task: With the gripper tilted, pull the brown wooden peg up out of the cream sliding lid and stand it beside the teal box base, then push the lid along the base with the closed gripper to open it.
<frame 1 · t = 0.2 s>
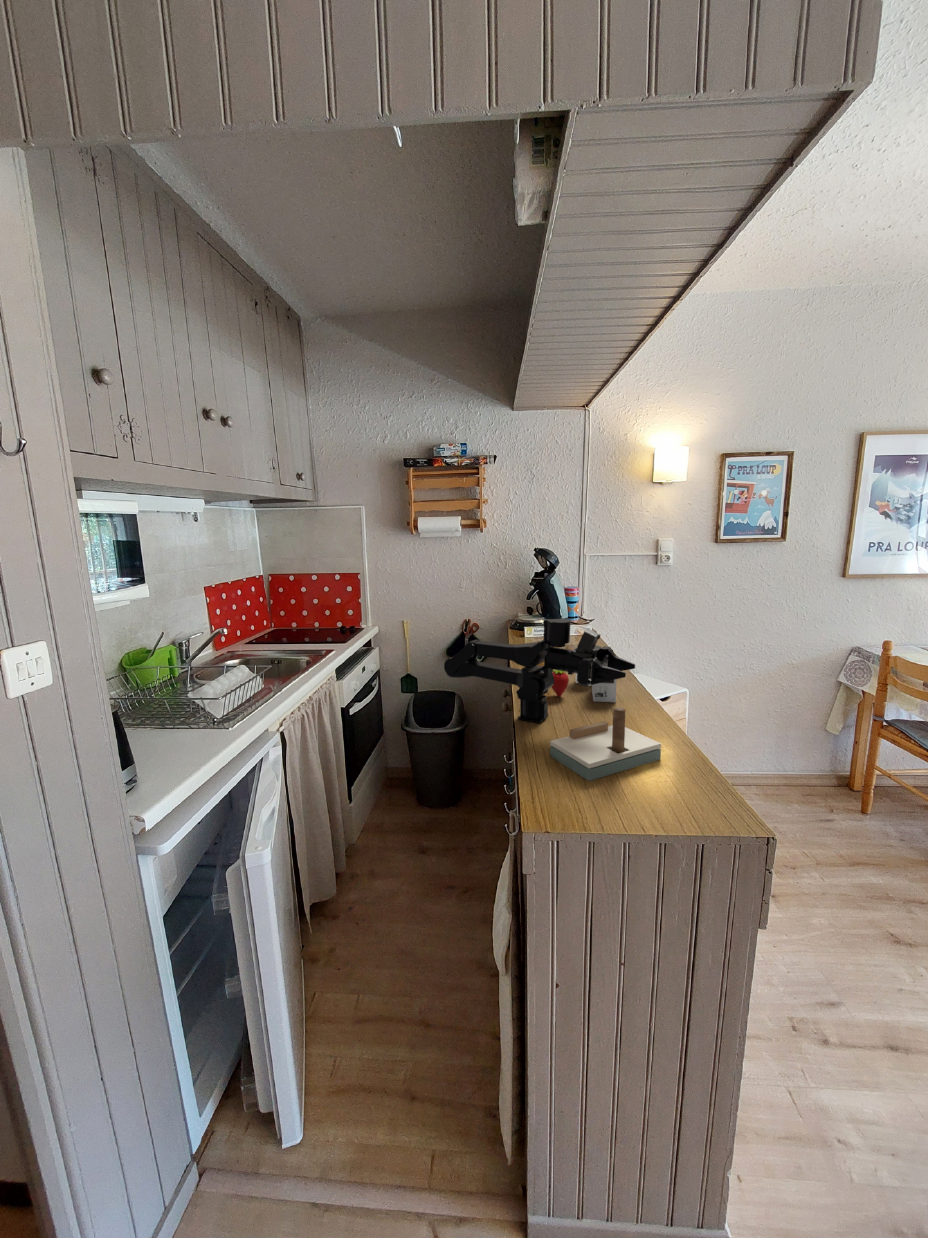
hand: (630, 670, 119), 17 cm above the table, tool horizontal, fingers open, 9 cm apart
light bulb box: (603, 697, 152), on the table
jar: (589, 683, 166), on the table
brown wooden peg: (617, 765, 107), resting in teal box base
lid: (605, 740, 110), point 4 cm above the table, slide at 0.0 cm
teal box base: (604, 757, 111), on the table
strawberry: (558, 697, 152), on the table
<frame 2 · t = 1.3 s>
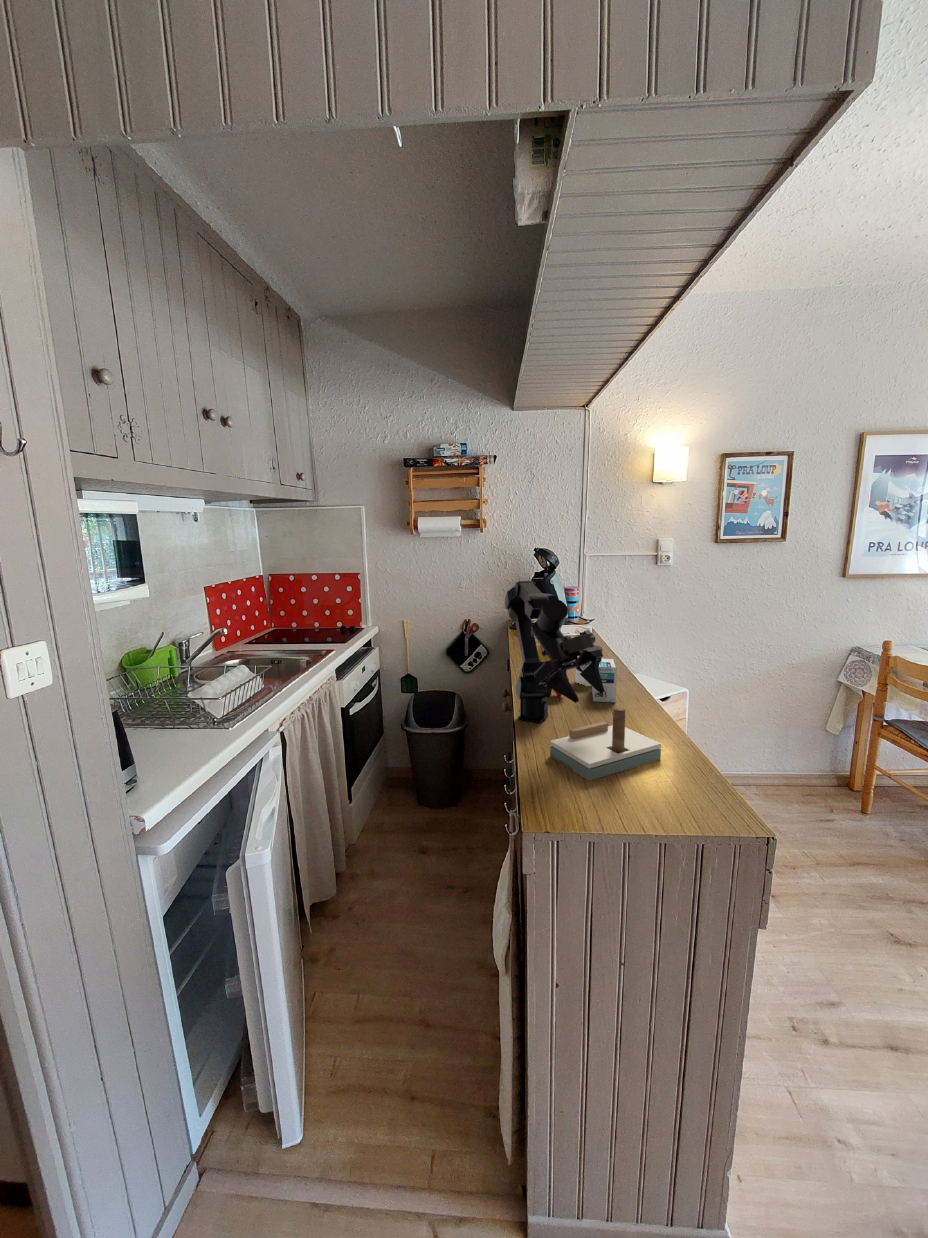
hand: (590, 697, 111), 13 cm above the table, tool tilted 45°, fingers open, 9 cm apart
nothing on the table moved.
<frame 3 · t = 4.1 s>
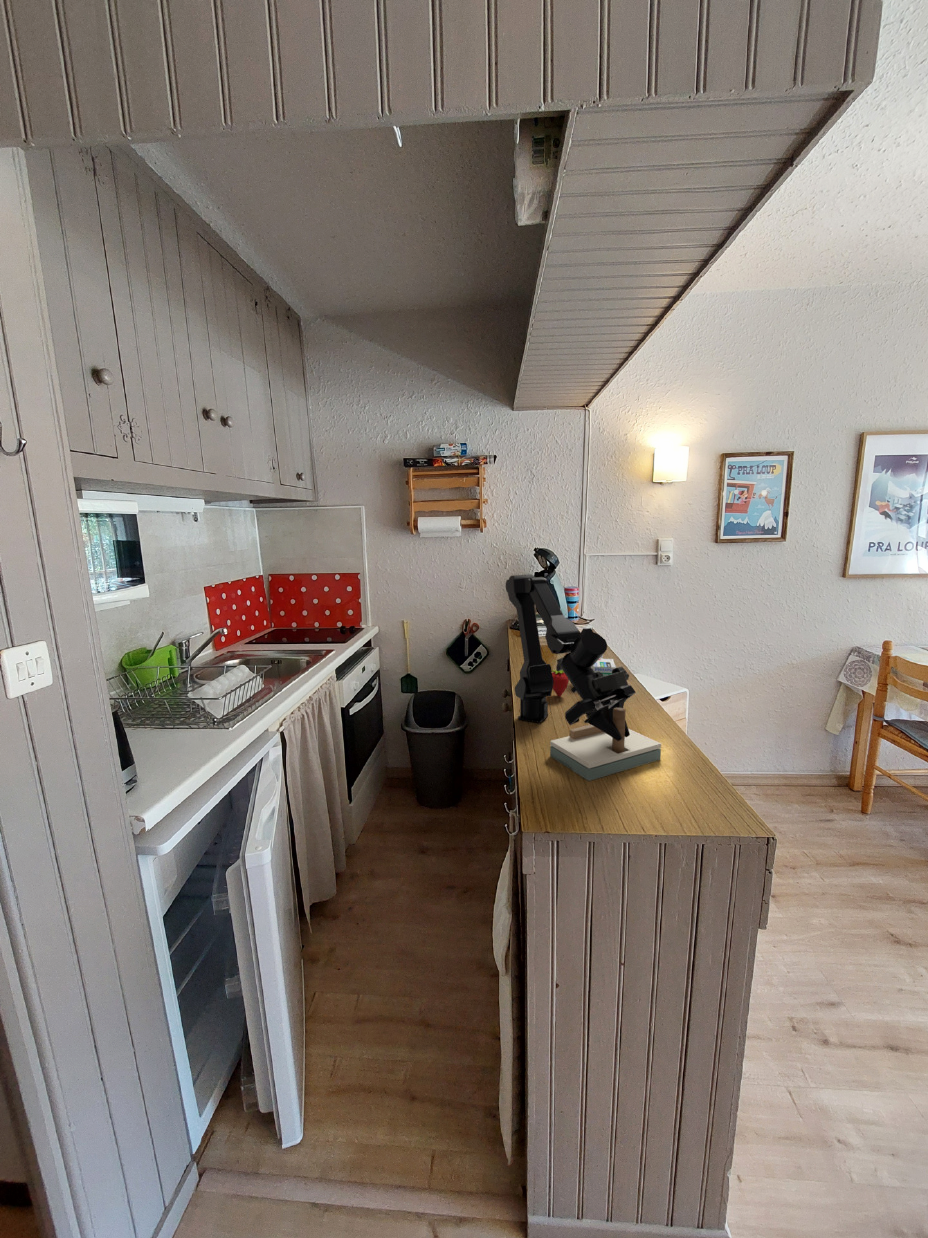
hand: (624, 738, 105), 7 cm above the table, tool tilted 45°, fingers closed on brown wooden peg, 2 cm apart
brown wooden peg: (617, 765, 107), resting in teal box base, touching gripper
everything else where it was.
when the fingers open (8 cm above the table, at t = 8.2 s): brown wooden peg drops 1 cm, on the table.
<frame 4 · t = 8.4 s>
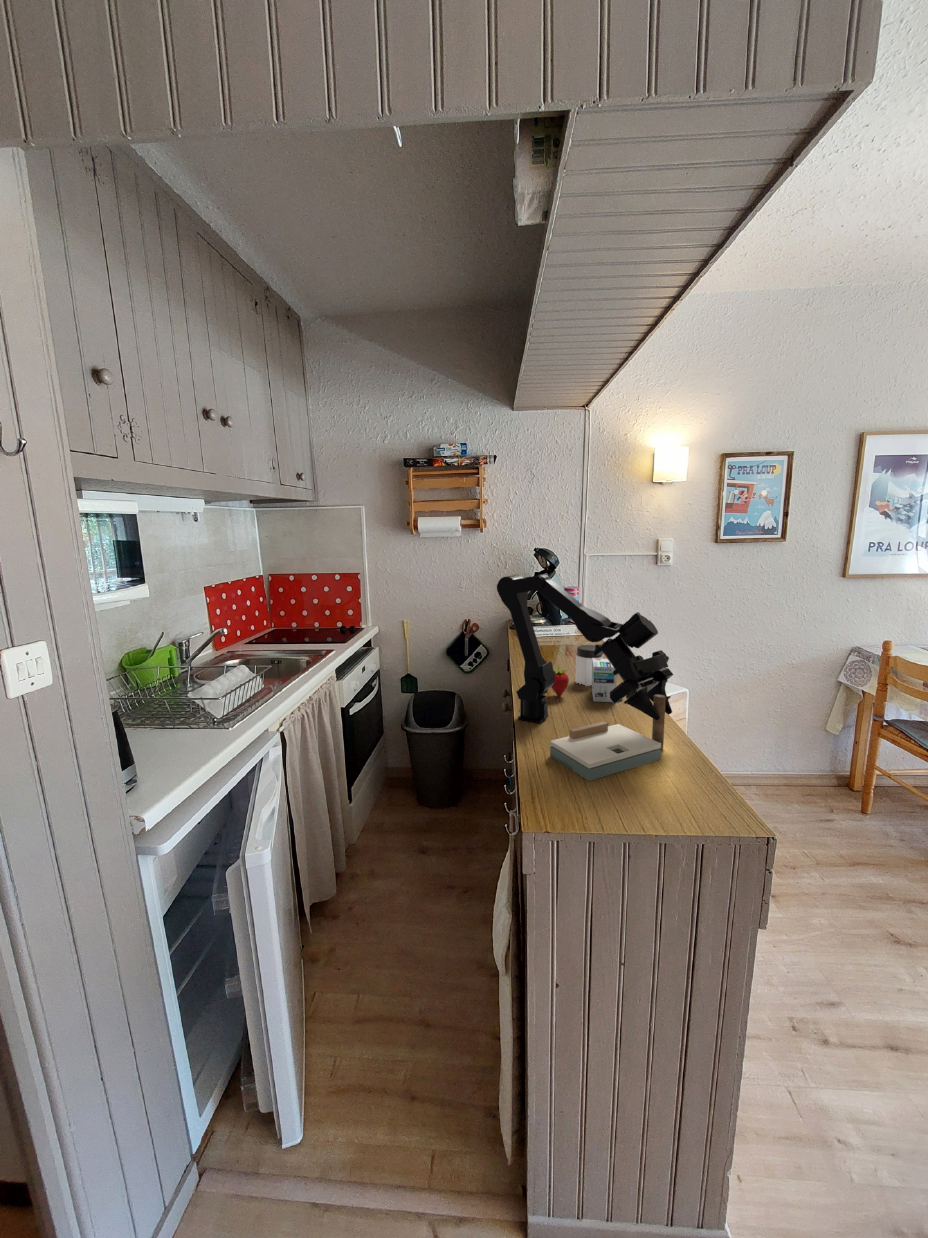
hand: (664, 716, 113), 8 cm above the table, tool tilted 45°, fingers open, 5 cm apart
brown wooden peg: (657, 748, 115), on the table
everything else where it was.
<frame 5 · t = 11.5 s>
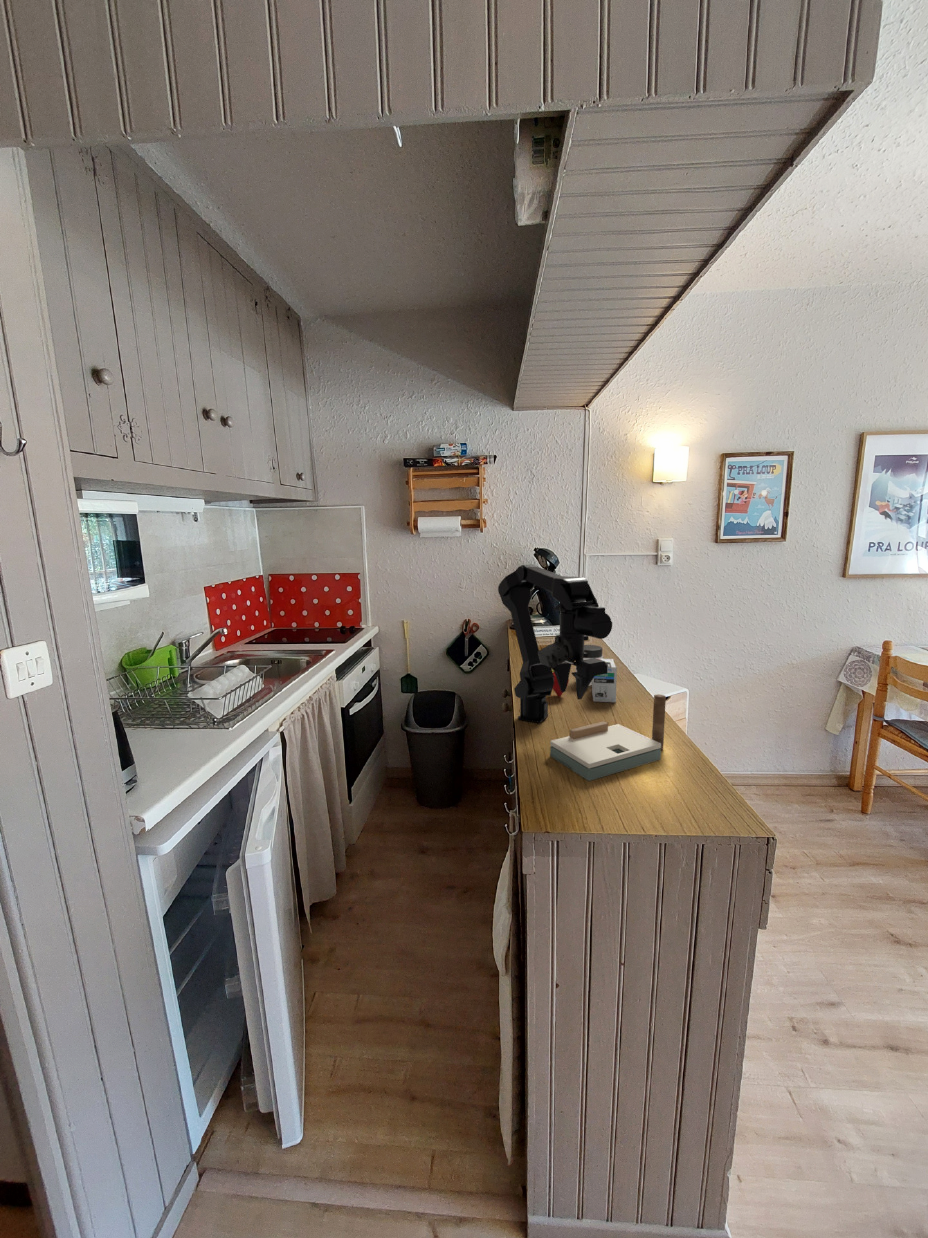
hand: (571, 695, 119), 11 cm above the table, tool pointing down, fingers open, 6 cm apart
nothing on the table moved.
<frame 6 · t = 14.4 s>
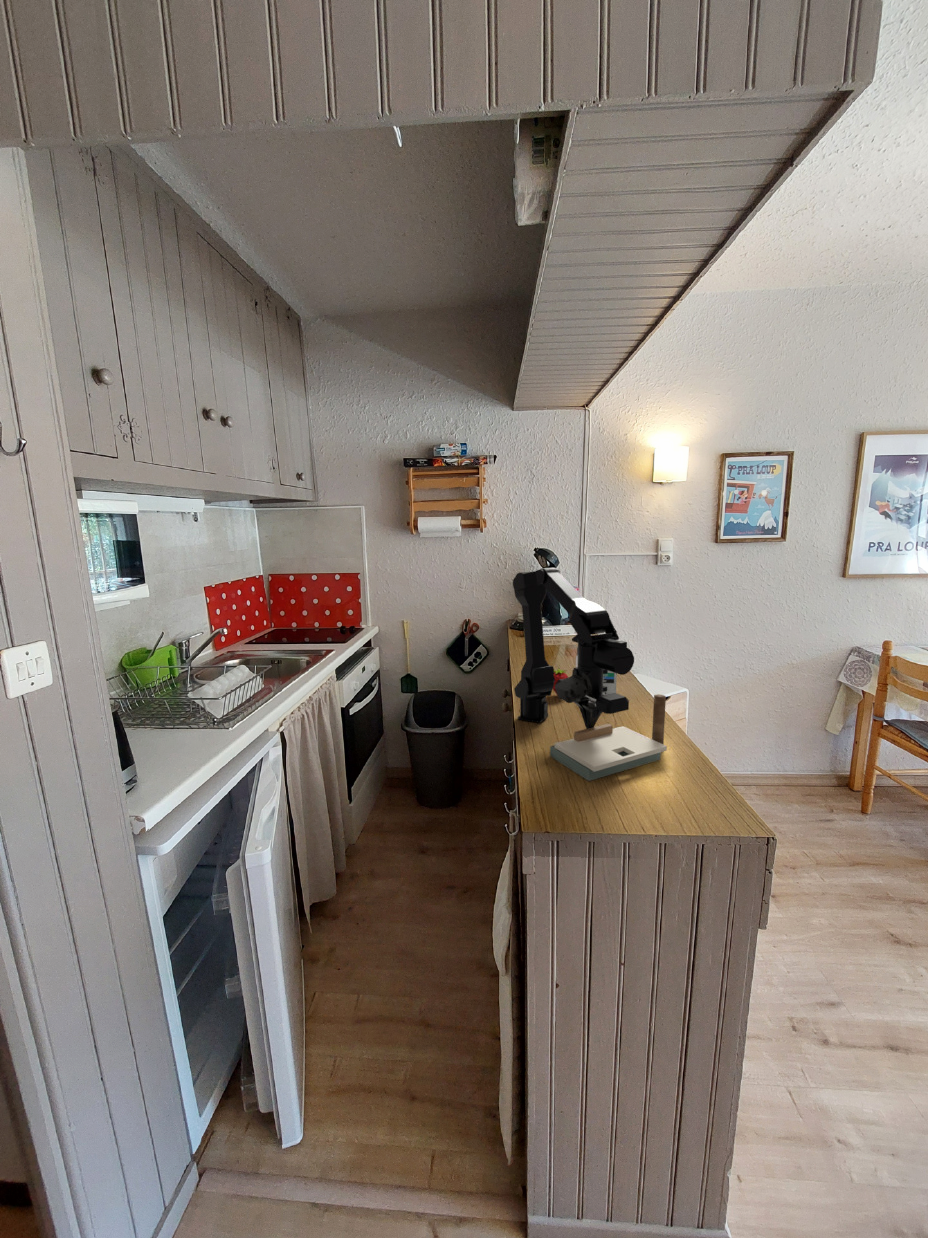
hand: (589, 730, 115), 5 cm above the table, tool pointing down, fingers closed
lid: (610, 743, 109), point 4 cm above the table, slide at 1.6 cm, touching gripper
everything else where it was.
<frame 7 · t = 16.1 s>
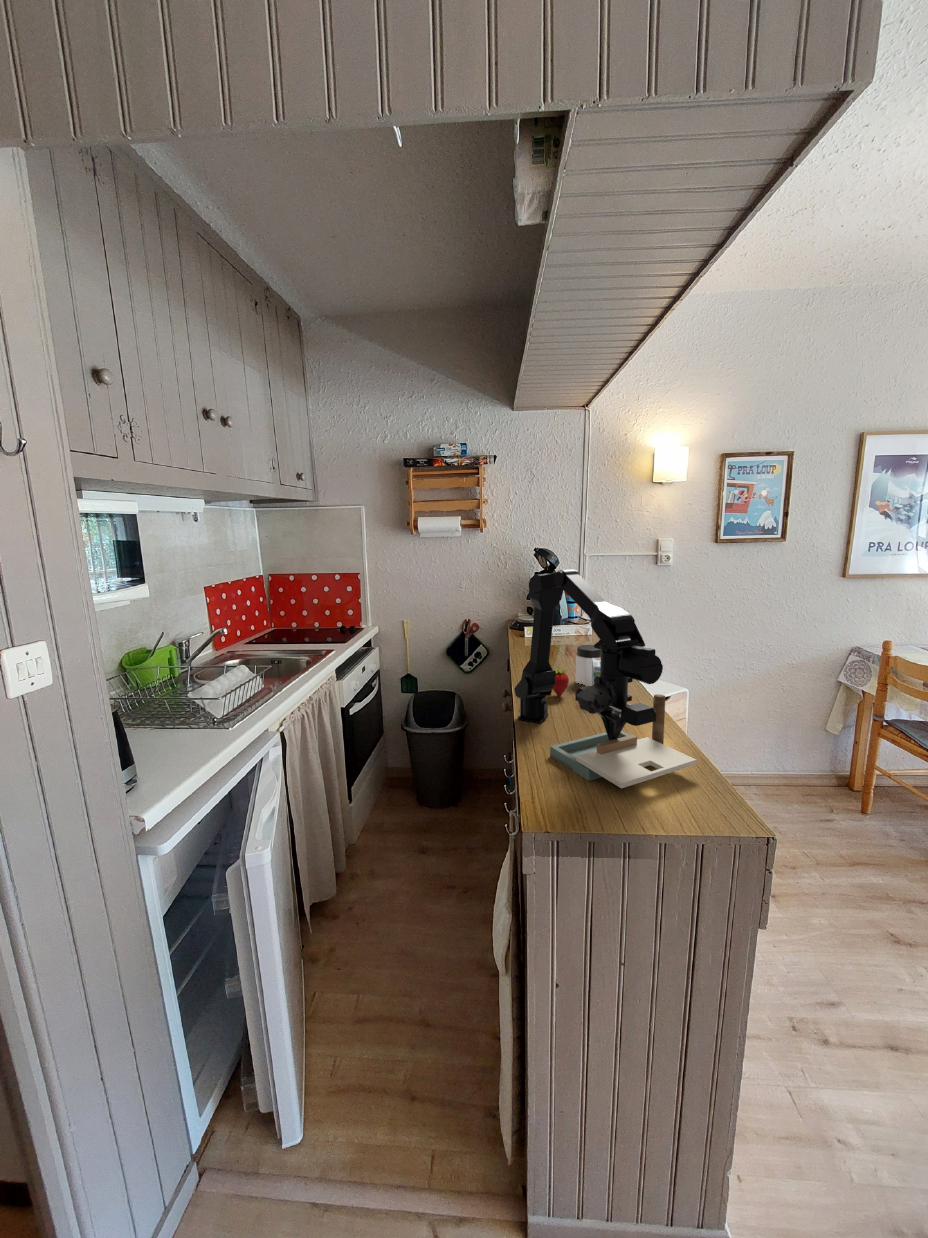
hand: (612, 741, 108), 5 cm above the table, tool pointing down, fingers closed
lid: (635, 756, 102), point 4 cm above the table, slide at 9.0 cm, touching gripper
everything else where it was.
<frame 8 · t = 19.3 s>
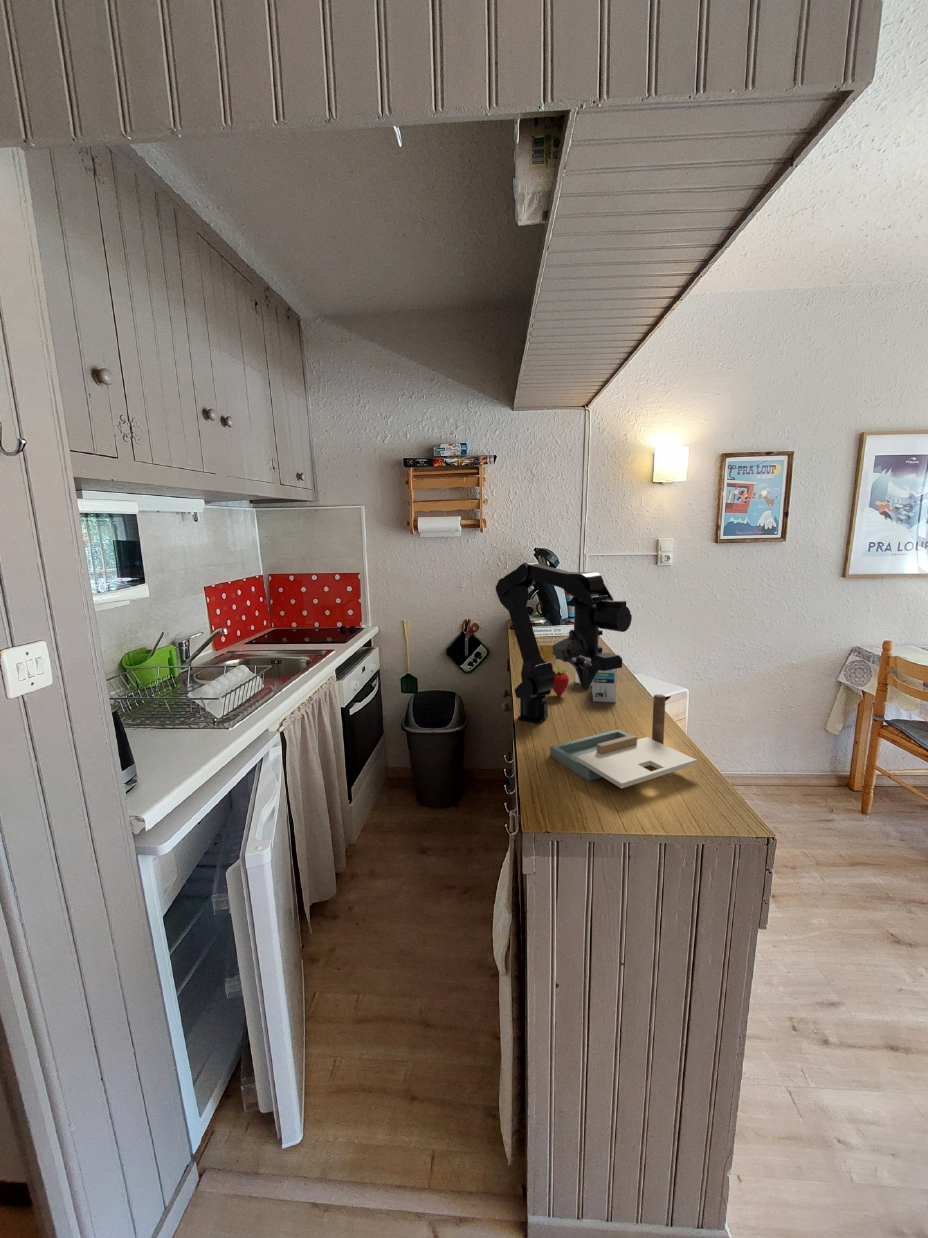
hand: (585, 689, 120), 12 cm above the table, tool pointing down, fingers closed
lid: (635, 756, 102), point 4 cm above the table, slide at 9.0 cm
everything else where it was.
at the end: lid slide at 9.0 cm; brown wooden peg moved 14.1 cm from its start; brown wooden peg on the table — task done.
